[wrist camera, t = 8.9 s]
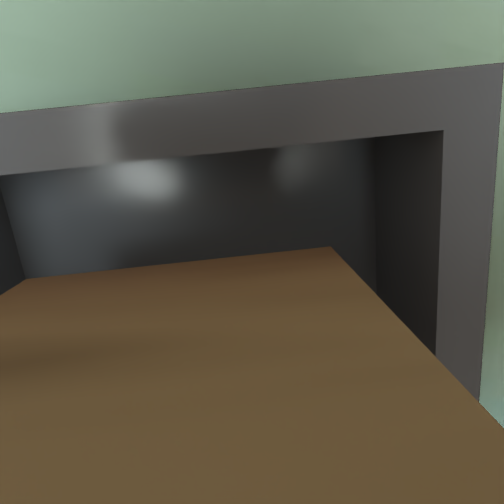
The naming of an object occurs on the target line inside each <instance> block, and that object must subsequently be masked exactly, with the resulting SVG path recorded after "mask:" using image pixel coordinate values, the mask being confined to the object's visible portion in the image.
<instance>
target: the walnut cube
mask: <svg viewBox="0 0 504 504" xmlns="http://www.w3.org/2000/svg"><path fill="white" fill-rule="evenodd" d="M0 504H504V428H503V427H502V426H501V425H500V424H499V423H498V422H497V421H496V420H495V419H494V418H493V417H492V416H491V415H490V414H489V412H488V411H487V410H486V409H485V408H484V407H483V406H482V405H481V404H480V403H479V402H478V401H477V400H476V399H475V398H474V397H473V396H472V395H471V394H470V392H469V391H468V390H467V389H466V388H465V387H464V386H463V385H462V384H461V383H460V382H459V381H458V380H457V379H456V378H455V377H454V376H453V375H452V374H451V372H450V371H449V370H448V369H447V368H446V367H445V366H444V365H443V364H442V363H441V362H440V361H439V360H438V359H437V358H436V357H435V356H434V355H433V354H432V353H431V351H430V350H429V349H428V348H427V347H426V346H425V345H424V344H423V343H422V342H421V341H420V340H419V339H418V338H417V337H416V336H415V335H414V334H413V333H412V331H411V330H410V329H409V328H408V327H407V326H406V325H405V324H404V323H403V322H402V321H401V320H400V319H399V318H398V317H397V316H396V315H395V314H394V313H393V311H392V310H391V309H390V308H389V307H388V306H387V305H386V304H385V303H384V302H383V301H382V300H381V299H380V298H379V297H378V296H377V295H376V294H375V293H374V291H373V290H372V289H371V288H370V287H369V286H368V285H367V284H366V283H365V282H364V281H363V280H362V279H361V278H360V277H359V276H358V275H357V274H356V273H355V271H354V270H353V269H352V268H351V267H350V266H349V265H348V264H347V263H346V262H345V261H344V260H343V259H342V258H341V257H340V256H339V255H338V254H337V253H336V251H335V250H334V249H333V248H332V247H331V246H330V247H320V248H311V249H302V250H292V251H283V252H274V253H264V254H255V255H246V256H236V257H227V258H218V259H208V260H199V261H190V262H180V263H171V264H161V265H152V266H143V267H133V268H124V269H115V270H105V271H96V272H87V273H77V274H68V275H59V276H49V277H40V278H31V279H25V280H24V281H22V282H21V283H19V284H18V285H16V286H14V287H13V288H11V289H10V290H8V291H6V292H5V293H3V294H2V295H0Z"/></svg>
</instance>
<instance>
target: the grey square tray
mask: <svg viewBox="0 0 504 504" xmlns="http://www.w3.org/2000/svg"><path fill="white" fill-rule="evenodd" d="M503 70H504V63H494V64H485V65H475V66H465V67H455V68H445V69H435V70H425V71H415V72H405V73H395V74H385V75H375V76H365V77H355V78H345V79H336V80H326V81H316V82H306V83H296V84H286V85H276V86H266V87H256V88H246V89H236V90H226V91H216V92H206V93H197V94H187V95H177V96H167V97H157V98H147V99H137V100H127V101H117V102H107V103H97V104H87V105H77V106H67V107H57V108H48V109H38V110H28V111H18V112H8V113H0V295H2V294H3V293H5V292H6V291H8V290H10V289H11V288H13V287H14V286H16V285H18V284H19V283H21V282H22V281H24V280H25V279H31V278H40V277H49V276H59V275H68V274H77V273H87V272H96V271H105V270H115V269H124V268H133V267H143V266H152V265H161V264H171V263H180V262H190V261H199V260H208V259H218V258H227V257H236V256H246V255H255V254H264V253H274V252H283V251H292V250H302V249H311V248H320V247H330V246H331V247H332V248H333V249H334V250H335V251H336V253H337V254H338V255H339V256H340V257H341V258H342V259H343V260H344V261H345V262H346V263H347V264H348V265H349V266H350V267H351V268H352V269H353V270H354V271H355V273H356V274H357V275H358V276H359V277H360V278H361V279H362V280H363V281H364V282H365V283H366V284H367V285H368V286H369V287H370V288H371V289H372V290H373V291H374V293H375V294H376V295H377V296H378V297H379V298H380V299H381V300H382V301H383V302H384V303H385V304H386V305H387V306H388V307H389V308H390V309H391V310H392V311H393V313H394V314H395V315H396V316H397V317H398V318H399V319H400V320H401V321H402V322H403V323H404V324H405V325H406V326H407V327H408V328H409V329H410V330H411V331H412V333H413V334H414V335H415V336H416V337H417V338H418V339H419V340H420V341H421V342H422V343H423V344H424V345H425V346H426V347H427V348H428V349H429V350H430V351H431V353H432V354H433V355H434V356H435V357H436V358H437V359H438V360H439V361H440V362H441V363H442V364H443V365H444V366H445V367H446V368H447V369H448V370H449V371H450V372H451V374H452V375H453V376H454V377H455V378H456V379H457V380H458V381H459V382H460V383H461V384H462V385H463V386H464V387H465V388H466V389H467V390H468V391H469V392H470V394H471V395H472V396H473V397H474V398H475V399H476V400H477V401H478V402H479V395H480V381H481V368H482V354H483V341H484V327H485V313H486V300H487V286H488V273H489V259H490V246H491V232H492V219H493V205H494V192H495V178H496V164H497V151H498V137H499V124H500V110H501V97H502V83H503Z"/></svg>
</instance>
